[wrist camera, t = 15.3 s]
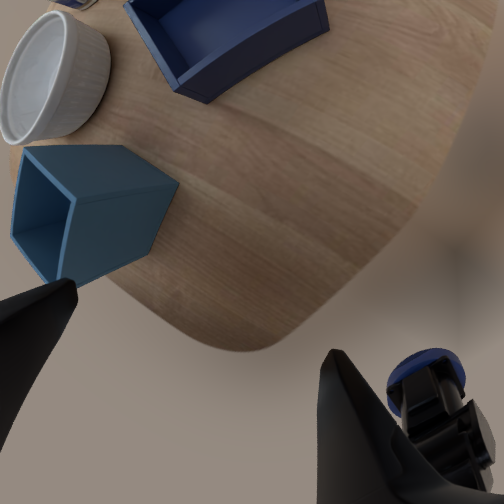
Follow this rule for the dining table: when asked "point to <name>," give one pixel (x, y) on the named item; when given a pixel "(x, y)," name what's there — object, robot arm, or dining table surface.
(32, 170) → the blue bin
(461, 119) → the dining table surface
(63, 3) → the pill bottle
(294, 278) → the dining table surface
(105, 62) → the ramekin
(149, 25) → the navy bin
